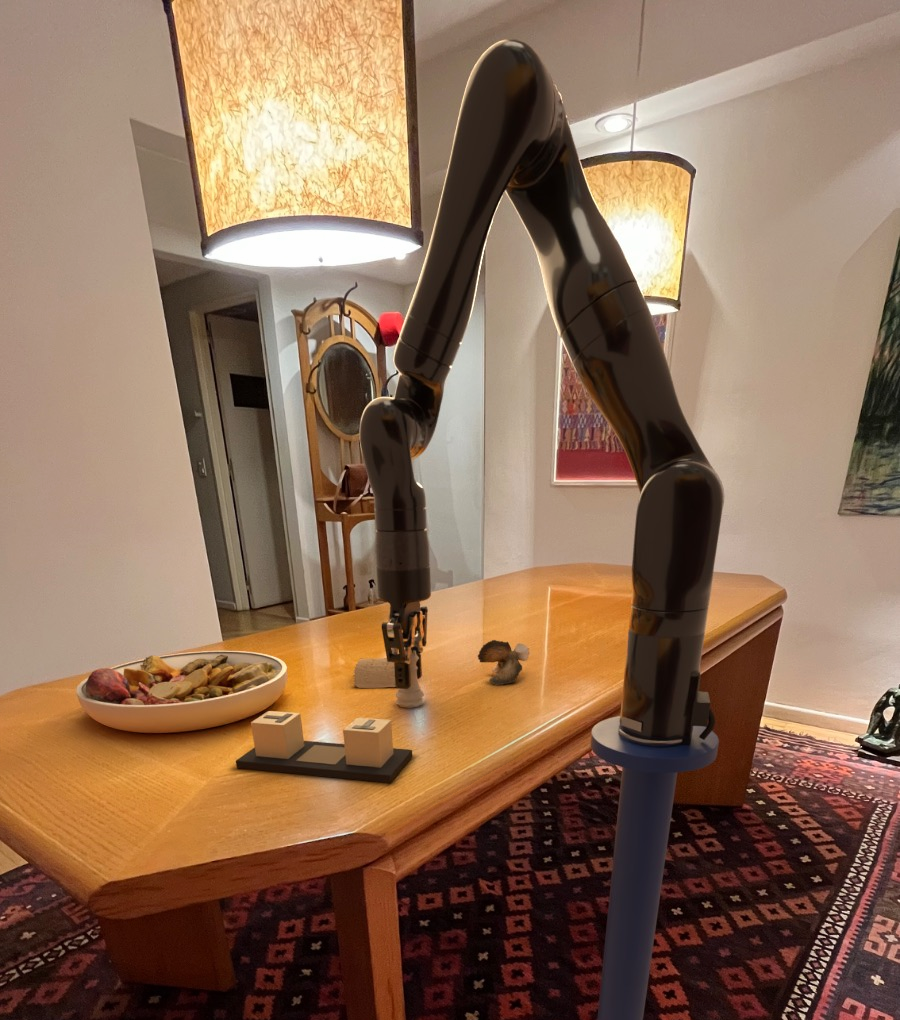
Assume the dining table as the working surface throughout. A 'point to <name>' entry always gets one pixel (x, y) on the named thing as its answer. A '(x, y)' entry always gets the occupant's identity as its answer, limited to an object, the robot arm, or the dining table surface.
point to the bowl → (183, 690)
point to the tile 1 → (277, 734)
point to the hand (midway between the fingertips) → (409, 682)
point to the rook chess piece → (413, 693)
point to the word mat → (327, 763)
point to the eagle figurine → (504, 660)
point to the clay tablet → (374, 673)
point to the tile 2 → (368, 742)
